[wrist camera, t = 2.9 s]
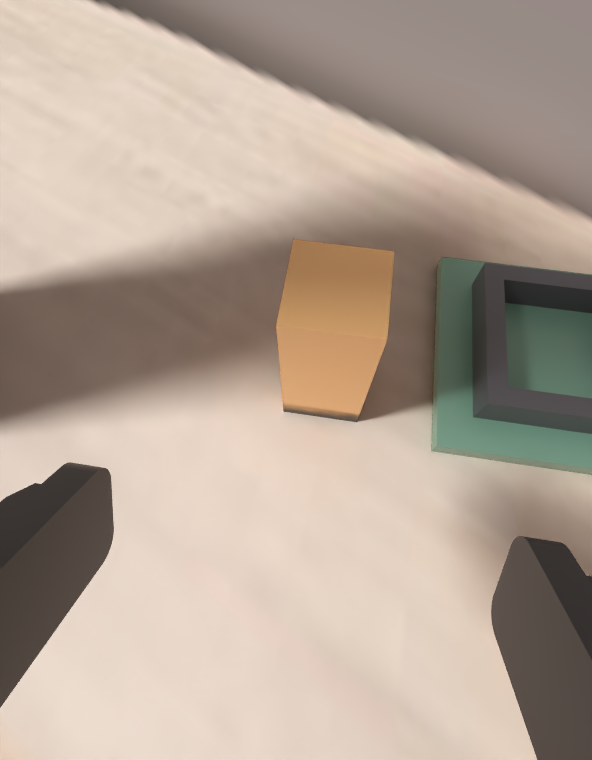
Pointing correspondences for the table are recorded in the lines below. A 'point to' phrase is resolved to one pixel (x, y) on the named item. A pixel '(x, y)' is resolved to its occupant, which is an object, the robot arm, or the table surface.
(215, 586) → the table surface
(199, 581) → the table surface
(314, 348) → the tan cardboard box
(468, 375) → the board
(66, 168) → the table surface
